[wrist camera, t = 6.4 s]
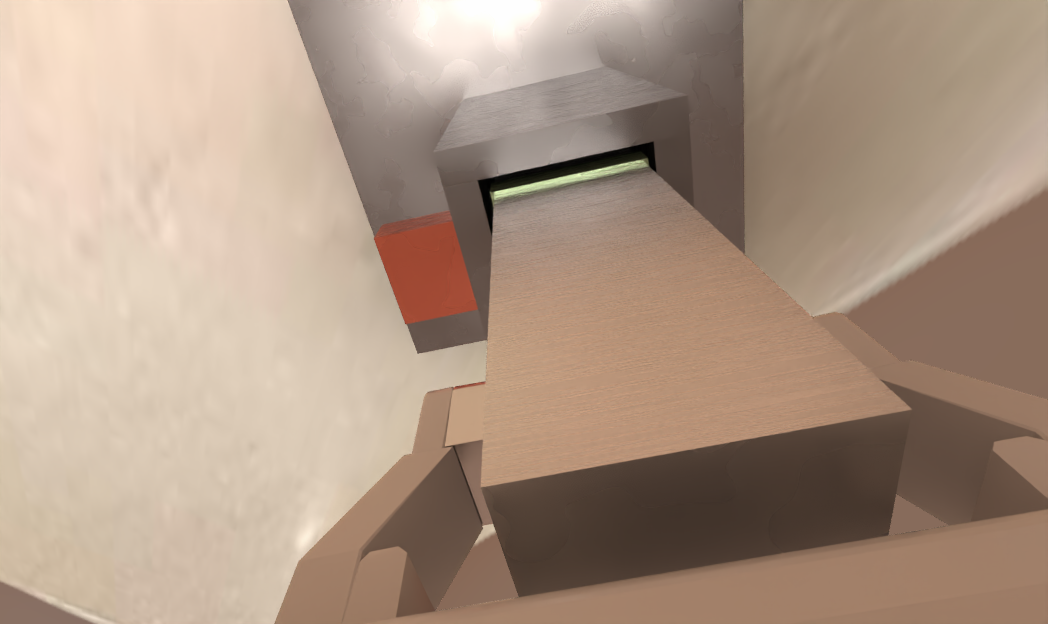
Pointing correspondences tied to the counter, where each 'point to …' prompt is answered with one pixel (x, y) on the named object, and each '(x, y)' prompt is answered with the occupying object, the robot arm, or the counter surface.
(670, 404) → the block
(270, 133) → the counter surface
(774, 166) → the counter surface
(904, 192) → the counter surface
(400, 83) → the jack base
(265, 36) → the counter surface
